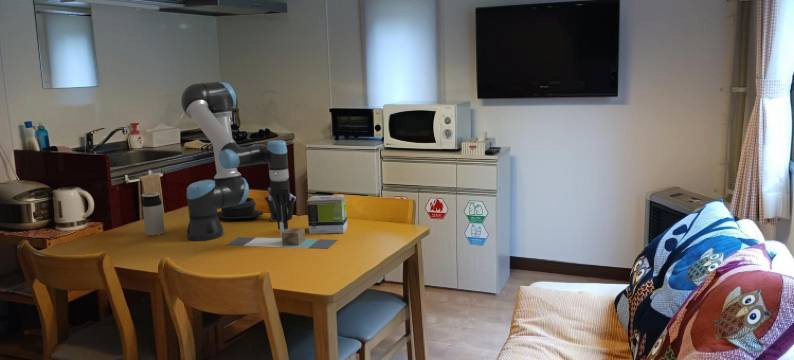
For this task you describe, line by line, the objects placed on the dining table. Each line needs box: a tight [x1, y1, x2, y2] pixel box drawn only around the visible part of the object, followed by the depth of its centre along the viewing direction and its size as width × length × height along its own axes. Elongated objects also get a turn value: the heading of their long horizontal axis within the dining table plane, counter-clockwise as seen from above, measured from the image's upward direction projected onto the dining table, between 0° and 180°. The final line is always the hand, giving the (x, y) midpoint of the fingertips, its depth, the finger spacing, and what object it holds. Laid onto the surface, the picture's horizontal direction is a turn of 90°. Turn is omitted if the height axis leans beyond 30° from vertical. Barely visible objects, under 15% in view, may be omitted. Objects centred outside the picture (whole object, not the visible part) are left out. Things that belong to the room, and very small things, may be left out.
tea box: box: [306, 194, 348, 235], centre depth 282 cm, size 15×10×15 cm
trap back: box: [225, 236, 256, 247], centre depth 271 cm, size 8×12×1 cm, turn 166°
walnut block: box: [282, 227, 306, 245], centre depth 265 cm, size 7×7×5 cm
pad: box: [279, 238, 320, 249], centre depth 265 cm, size 12×12×1 cm
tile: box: [242, 237, 282, 248], centre depth 269 cm, size 16×12×1 cm
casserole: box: [217, 197, 265, 221], centre depth 314 cm, size 25×19×8 cm
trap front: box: [308, 238, 339, 250], centre depth 263 cm, size 8×12×1 cm, turn 166°
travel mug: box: [141, 192, 166, 236], centre depth 288 cm, size 8×8×18 cm
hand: (283, 237), depth 266 cm, fingers closed
